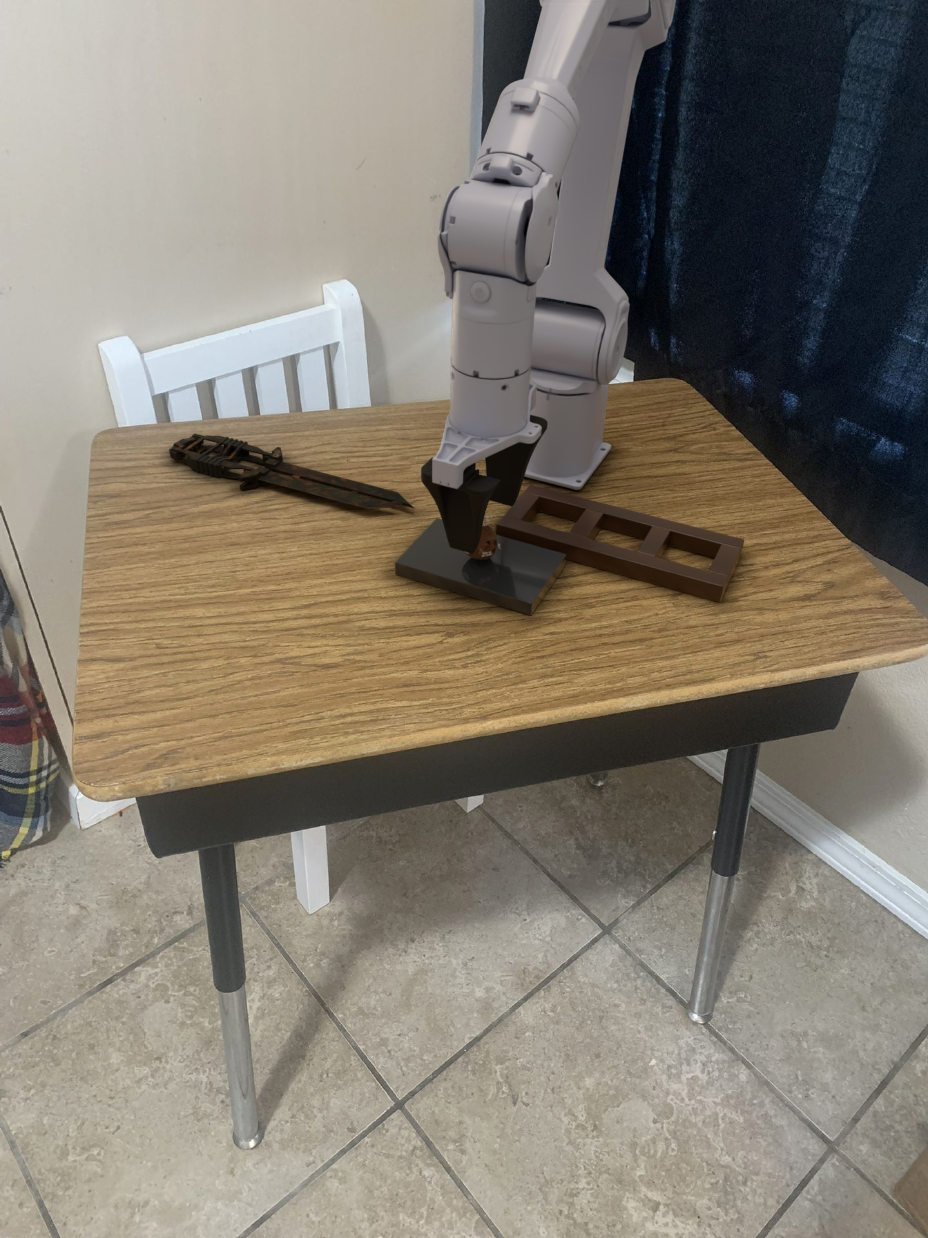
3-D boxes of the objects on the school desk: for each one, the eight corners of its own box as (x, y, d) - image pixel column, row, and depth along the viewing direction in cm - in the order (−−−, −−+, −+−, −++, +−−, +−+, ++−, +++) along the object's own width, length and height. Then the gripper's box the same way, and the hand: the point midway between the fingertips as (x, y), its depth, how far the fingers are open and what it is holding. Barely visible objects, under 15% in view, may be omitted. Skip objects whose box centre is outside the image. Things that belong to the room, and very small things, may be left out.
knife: (423, 507, 88) (423, 493, 87) (383, 541, 84) (383, 527, 83) (207, 435, 98) (205, 422, 97) (161, 462, 93) (159, 449, 92)
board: (436, 529, 85) (436, 517, 85) (565, 565, 81) (566, 554, 81) (394, 574, 80) (394, 562, 79) (531, 615, 76) (532, 603, 75)
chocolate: (468, 570, 78) (469, 528, 76) (458, 555, 80) (460, 513, 78) (502, 564, 79) (505, 522, 77) (492, 549, 81) (495, 508, 78)
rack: (528, 498, 90) (529, 483, 89) (741, 554, 83) (744, 539, 82) (495, 539, 84) (496, 523, 83) (719, 602, 78) (723, 586, 77)
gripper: (501, 415, 63) (492, 585, 71) (578, 337, 73) (562, 494, 82) (404, 392, 65) (406, 560, 74) (492, 320, 76) (485, 474, 84)
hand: (483, 524), depth 78 cm, fingers open, 7 cm apart
